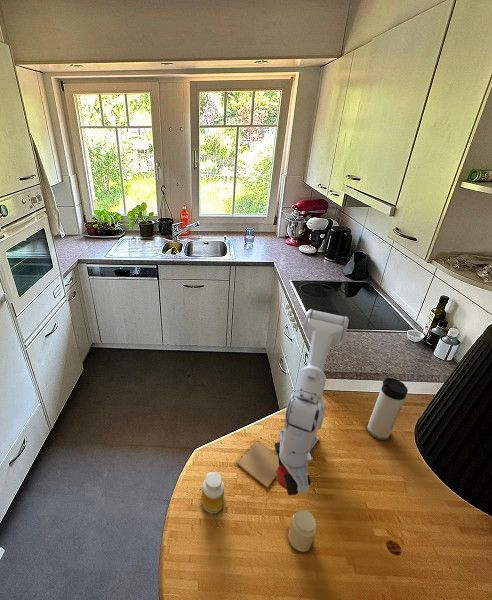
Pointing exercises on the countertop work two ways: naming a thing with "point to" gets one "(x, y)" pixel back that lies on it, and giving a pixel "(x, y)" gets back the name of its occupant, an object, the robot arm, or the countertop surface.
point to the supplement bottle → (213, 492)
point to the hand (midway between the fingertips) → (287, 480)
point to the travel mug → (387, 408)
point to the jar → (302, 530)
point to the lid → (281, 475)
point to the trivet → (260, 464)
